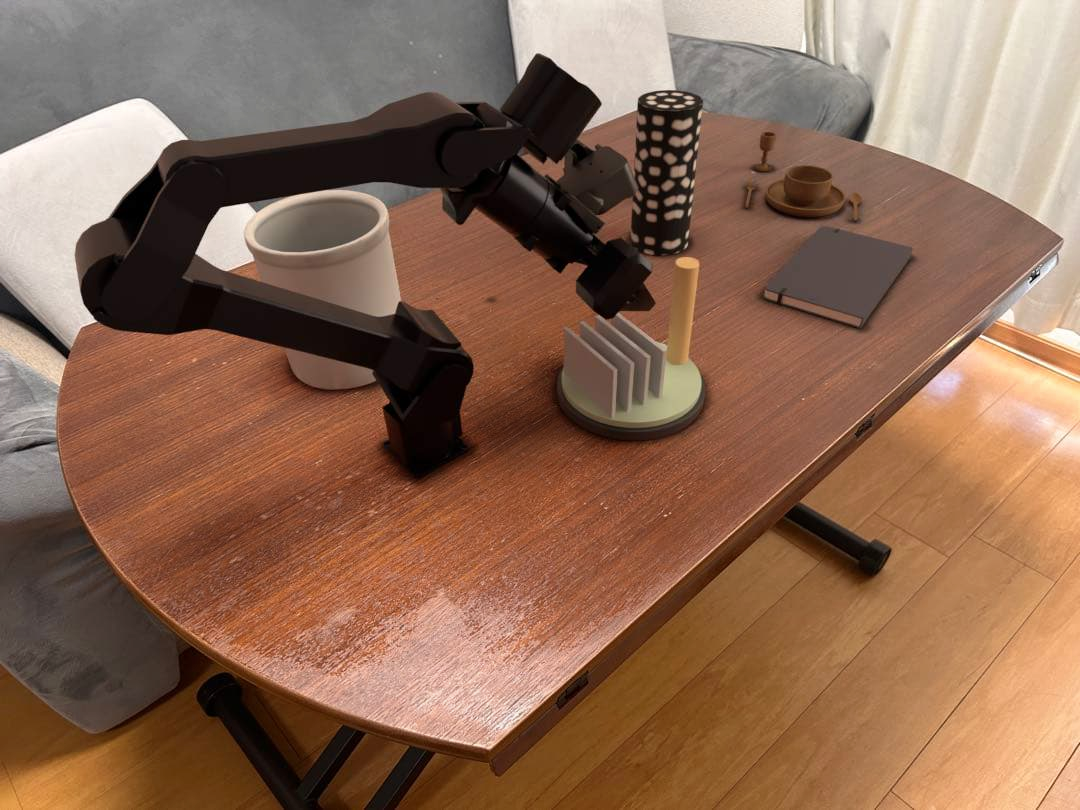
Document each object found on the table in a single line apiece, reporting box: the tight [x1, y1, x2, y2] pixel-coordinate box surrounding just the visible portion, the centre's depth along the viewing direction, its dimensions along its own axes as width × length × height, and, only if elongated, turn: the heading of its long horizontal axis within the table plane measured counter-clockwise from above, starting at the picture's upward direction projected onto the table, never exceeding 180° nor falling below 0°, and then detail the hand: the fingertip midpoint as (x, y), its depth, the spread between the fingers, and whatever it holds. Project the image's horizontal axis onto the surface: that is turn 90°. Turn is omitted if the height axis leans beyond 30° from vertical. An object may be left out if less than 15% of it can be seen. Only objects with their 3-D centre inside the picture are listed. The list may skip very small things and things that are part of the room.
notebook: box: [762, 225, 914, 329], centre depth 100 cm, size 13×2×21 cm
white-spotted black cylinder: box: [629, 89, 704, 256], centre depth 103 cm, size 8×8×20 cm
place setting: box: [745, 131, 863, 221], centre depth 119 cm, size 18×20×6 cm
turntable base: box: [556, 365, 706, 441], centre depth 83 cm, size 16×16×1 cm
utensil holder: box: [243, 189, 402, 391], centre depth 84 cm, size 15×15×18 cm
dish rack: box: [562, 256, 701, 428], centre depth 78 cm, size 15×15×13 cm
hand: (628, 284), depth 76 cm, fingers open, 9 cm apart
